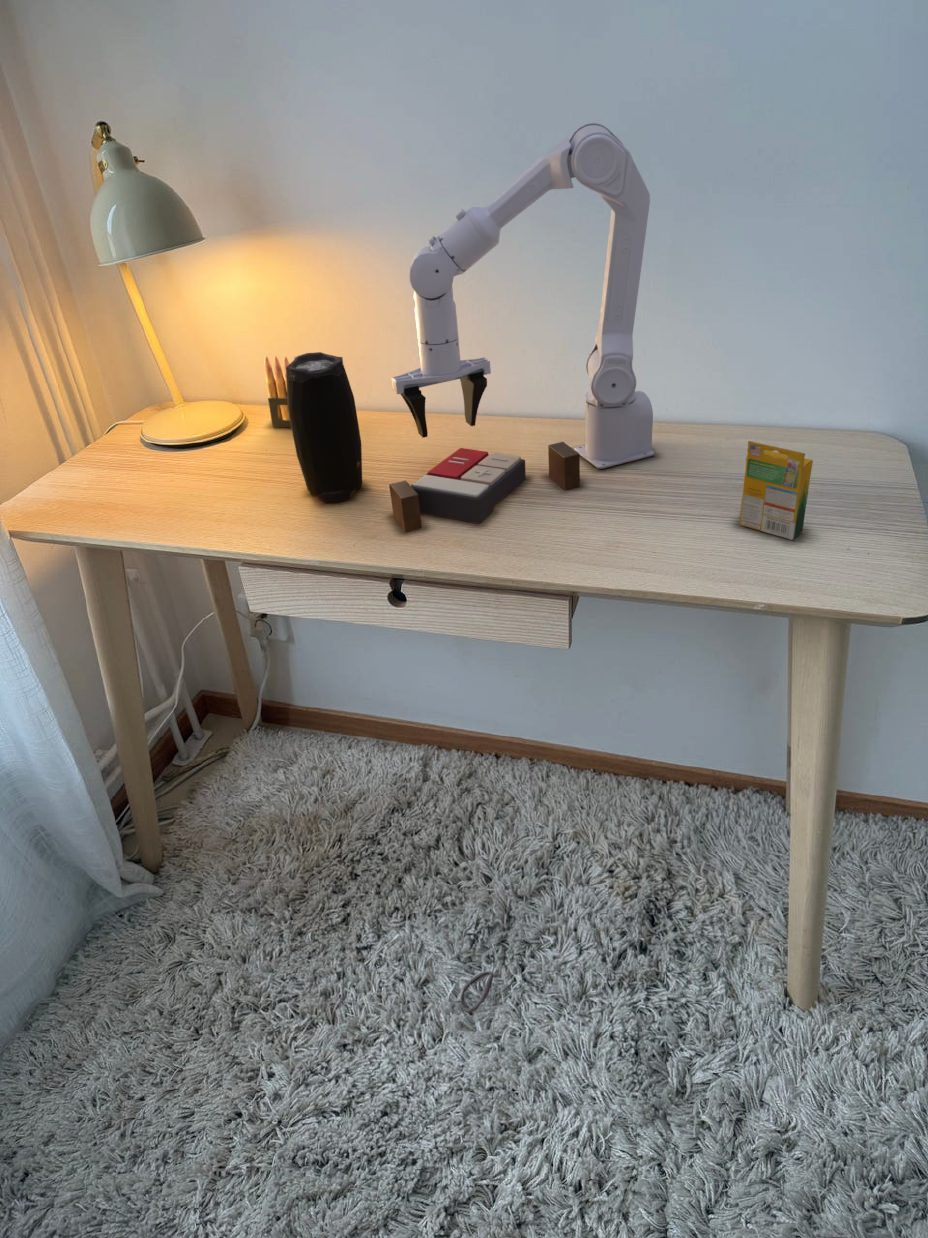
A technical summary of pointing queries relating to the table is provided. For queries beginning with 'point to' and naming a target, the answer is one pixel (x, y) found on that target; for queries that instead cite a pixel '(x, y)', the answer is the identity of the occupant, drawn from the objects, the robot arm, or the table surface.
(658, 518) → the table surface
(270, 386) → the ammunition clip
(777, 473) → the crayon box
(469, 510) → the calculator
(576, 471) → the corner blocks
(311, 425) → the portable speaker
